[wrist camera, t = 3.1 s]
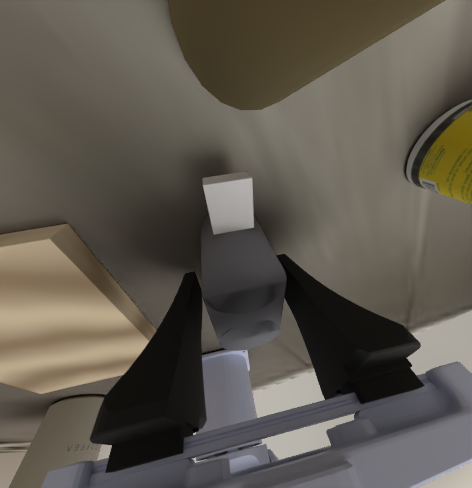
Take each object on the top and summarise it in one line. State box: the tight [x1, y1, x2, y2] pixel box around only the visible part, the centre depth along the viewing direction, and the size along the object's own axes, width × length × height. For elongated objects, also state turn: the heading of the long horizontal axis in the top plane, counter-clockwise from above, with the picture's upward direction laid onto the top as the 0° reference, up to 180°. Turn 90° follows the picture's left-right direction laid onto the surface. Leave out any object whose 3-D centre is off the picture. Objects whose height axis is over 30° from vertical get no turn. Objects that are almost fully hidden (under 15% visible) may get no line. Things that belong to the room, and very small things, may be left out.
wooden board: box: [0, 224, 157, 394], centre depth 14 cm, size 18×14×2 cm
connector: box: [201, 171, 286, 351], centre depth 11 cm, size 11×4×5 cm, turn 6°
